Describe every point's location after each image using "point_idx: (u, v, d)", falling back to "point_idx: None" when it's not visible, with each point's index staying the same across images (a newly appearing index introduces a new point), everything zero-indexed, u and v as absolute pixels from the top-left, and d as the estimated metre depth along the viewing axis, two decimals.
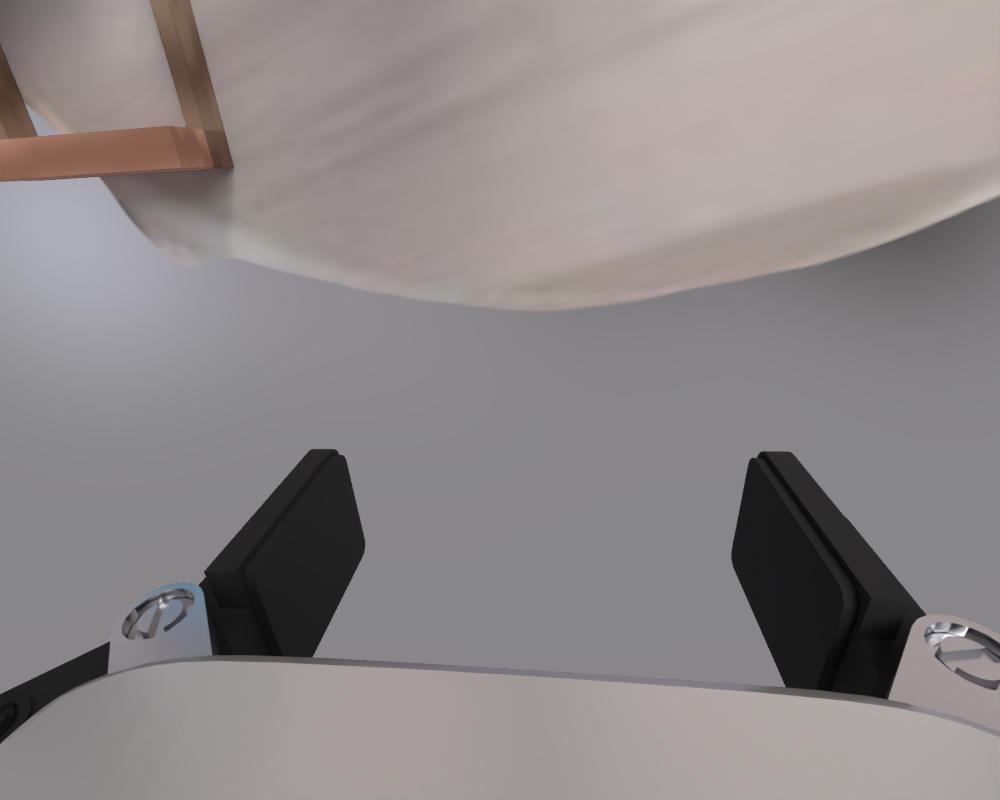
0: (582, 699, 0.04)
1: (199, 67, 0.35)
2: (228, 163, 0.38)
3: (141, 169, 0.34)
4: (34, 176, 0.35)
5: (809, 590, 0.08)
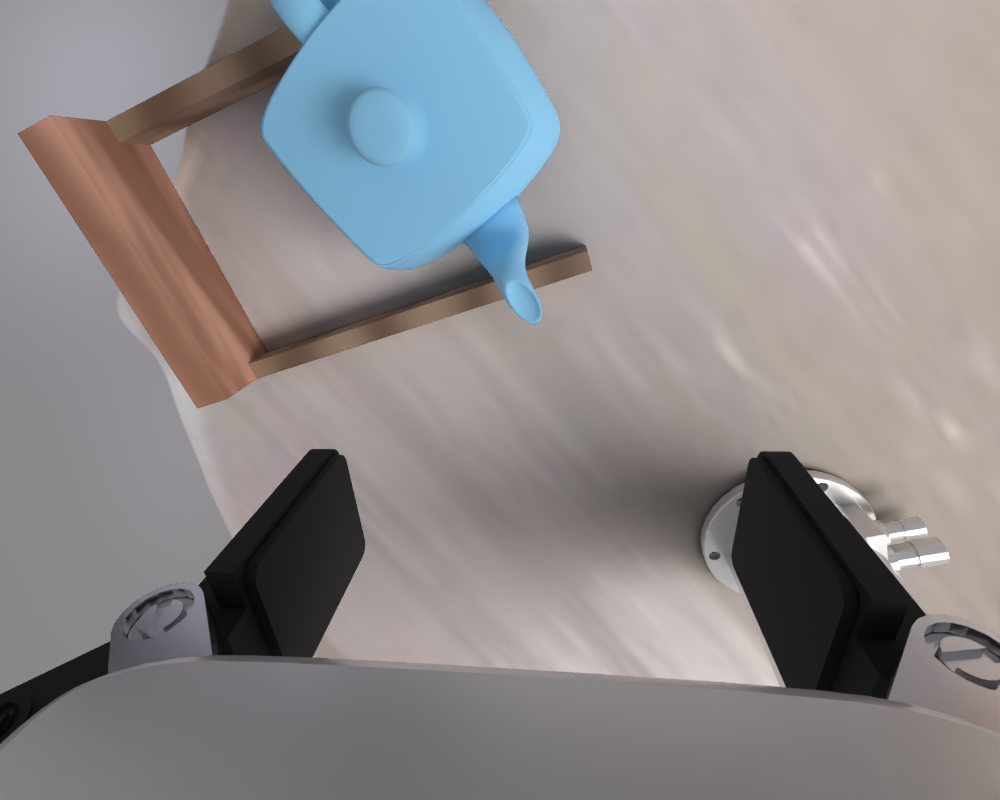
0: (582, 699, 0.04)
1: None
2: None
3: (172, 366, 0.32)
4: (88, 239, 0.28)
5: (809, 589, 0.08)
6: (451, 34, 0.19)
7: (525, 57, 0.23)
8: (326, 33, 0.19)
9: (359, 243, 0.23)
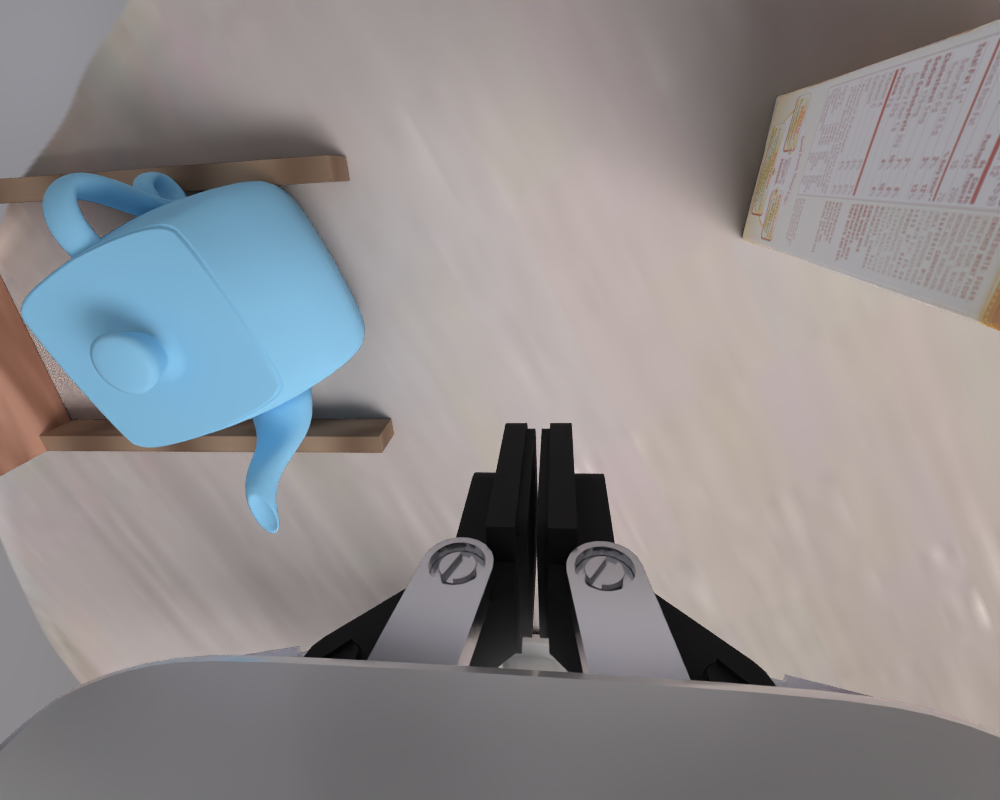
0: (582, 699, 0.04)
1: None
2: None
3: None
4: None
5: None
6: (209, 302, 0.20)
7: (326, 287, 0.25)
8: (89, 263, 0.20)
9: (115, 423, 0.24)
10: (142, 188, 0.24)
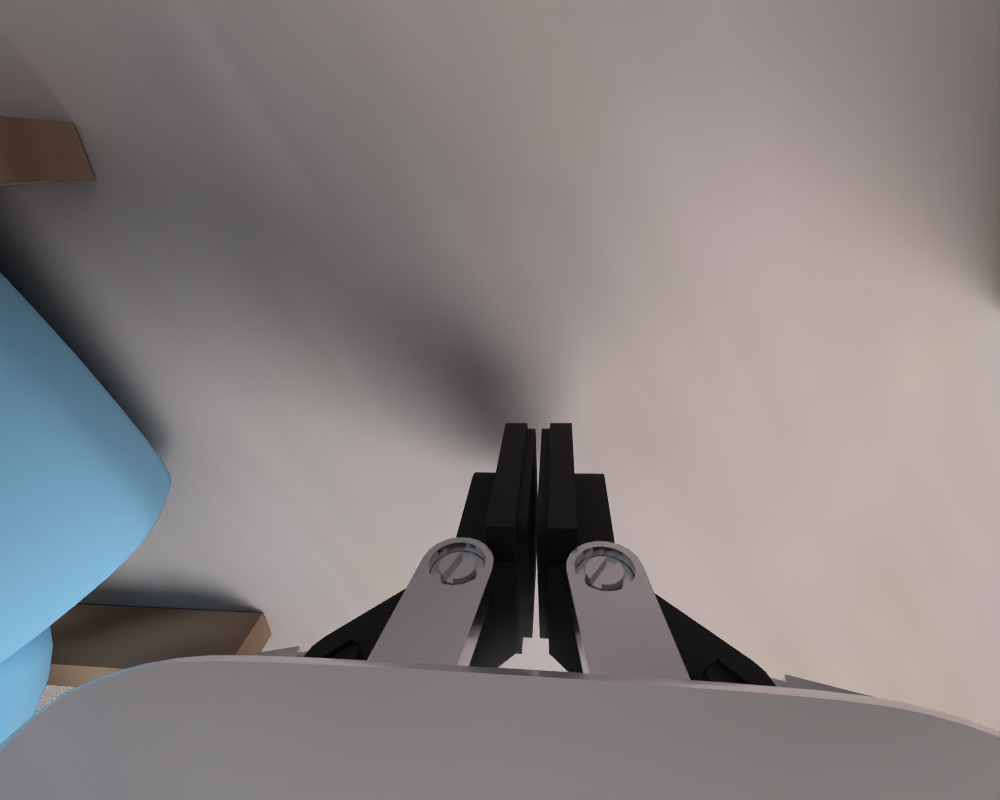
0: (582, 699, 0.04)
1: None
2: None
3: None
4: None
5: None
6: None
7: None
8: None
9: None
10: None
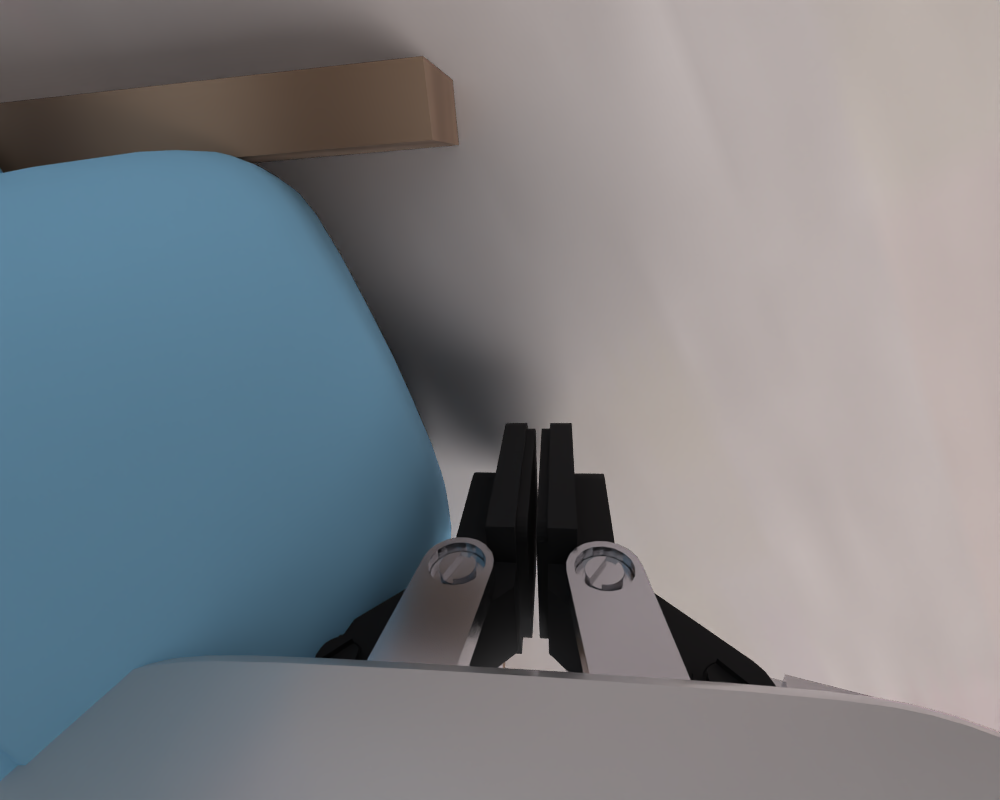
0: (582, 699, 0.04)
1: None
2: None
3: None
4: None
5: None
6: None
7: (387, 465, 0.09)
8: None
9: None
10: None
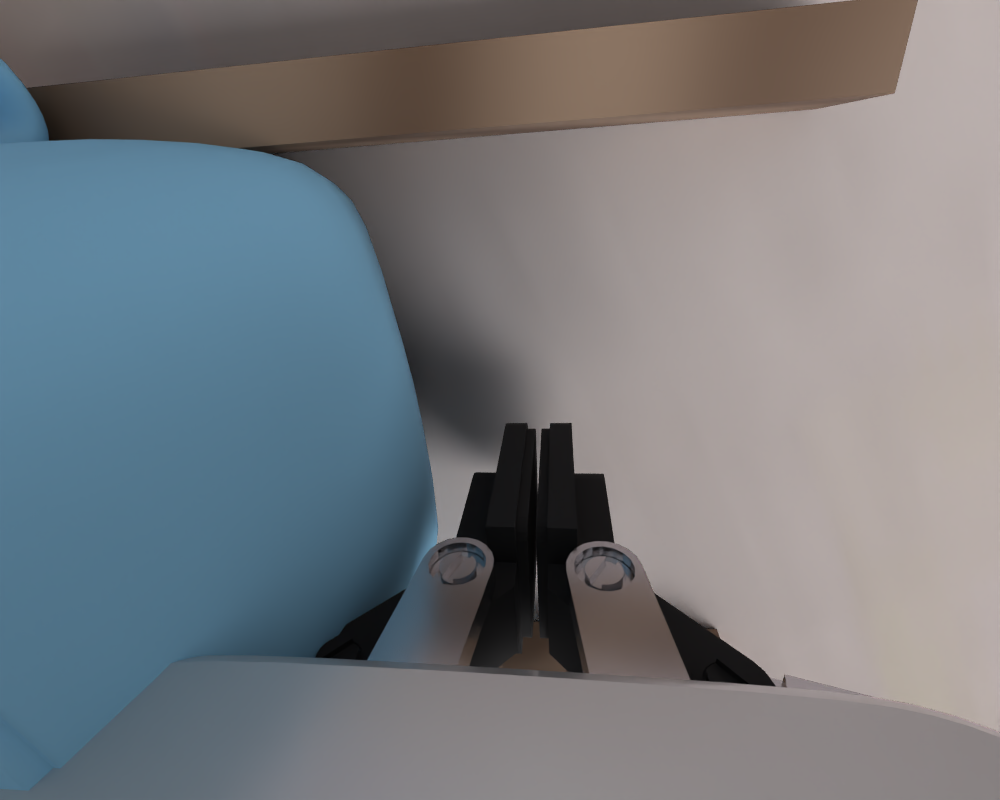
0: (582, 699, 0.04)
1: None
2: None
3: None
4: None
5: None
6: None
7: (402, 490, 0.09)
8: None
9: None
10: None
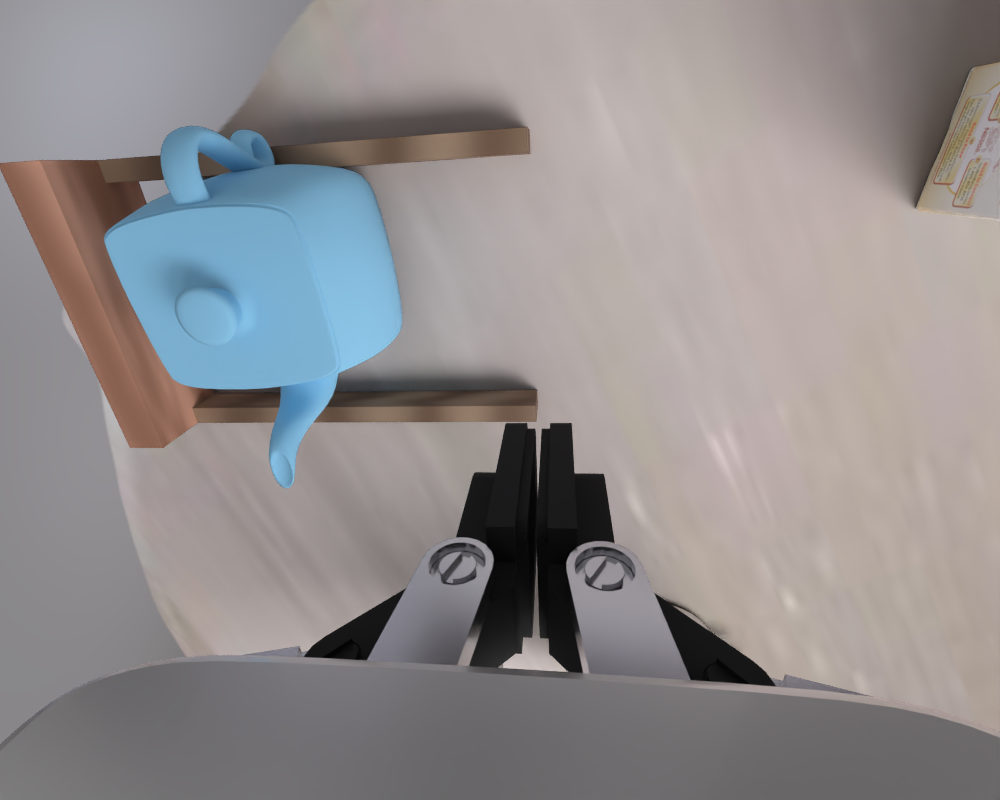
0: (582, 699, 0.04)
1: None
2: None
3: (112, 406, 0.31)
4: (51, 276, 0.28)
5: None
6: (300, 283, 0.22)
7: (386, 282, 0.27)
8: (196, 217, 0.21)
9: (162, 357, 0.25)
10: (240, 145, 0.25)
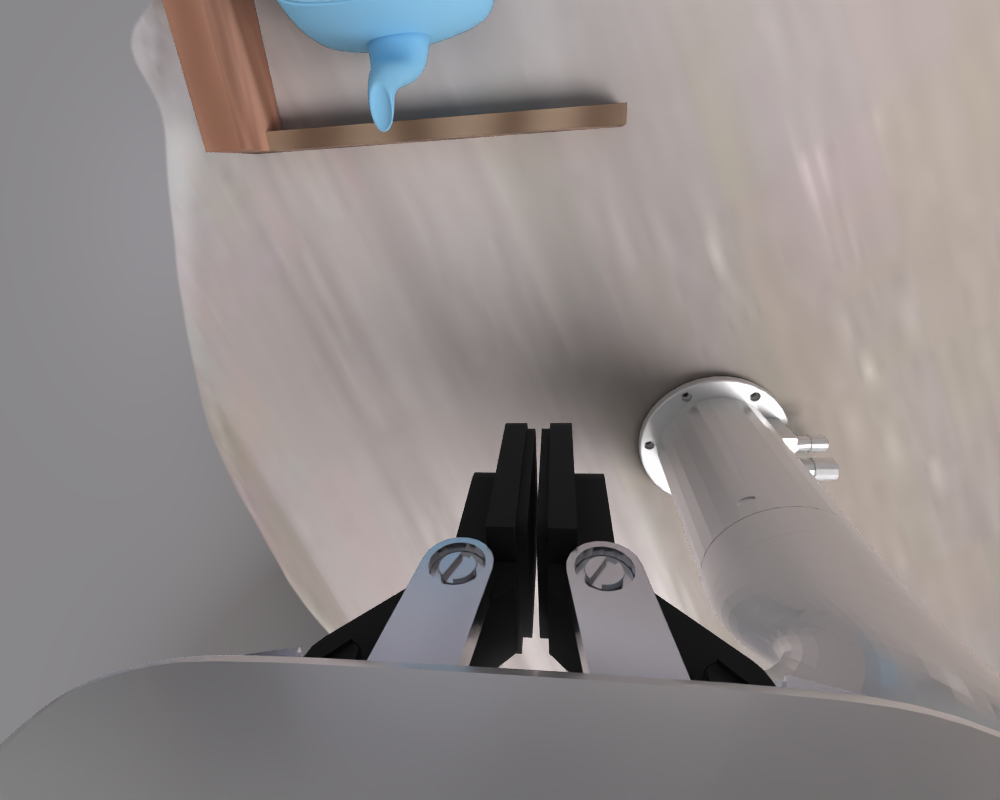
0: (582, 699, 0.04)
1: (332, 147, 0.35)
2: (255, 153, 0.37)
3: (191, 96, 0.30)
4: None
5: None
6: None
7: None
8: None
9: None
10: None
